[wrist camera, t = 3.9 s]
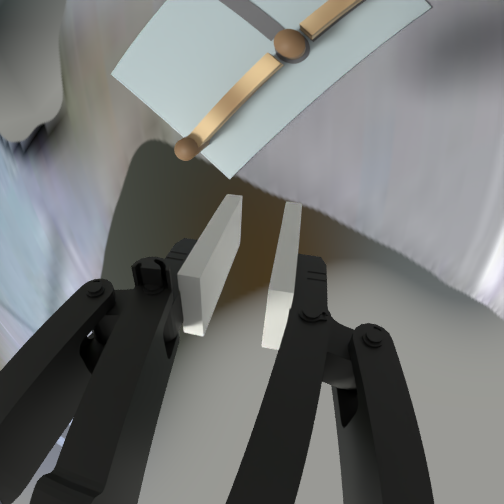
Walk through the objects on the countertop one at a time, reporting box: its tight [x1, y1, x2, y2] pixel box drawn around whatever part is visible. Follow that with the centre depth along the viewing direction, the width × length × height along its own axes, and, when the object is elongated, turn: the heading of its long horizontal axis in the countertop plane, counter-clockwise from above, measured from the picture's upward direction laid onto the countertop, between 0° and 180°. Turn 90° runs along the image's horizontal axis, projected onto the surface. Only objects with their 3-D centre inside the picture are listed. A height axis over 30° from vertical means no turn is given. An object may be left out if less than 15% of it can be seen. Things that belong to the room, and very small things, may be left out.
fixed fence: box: [274, 0, 362, 60], centre depth 18 cm, size 2×15×5 cm, turn 137°
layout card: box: [111, 0, 431, 179], centre depth 22 cm, size 18×28×1 cm, turn 136°
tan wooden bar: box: [175, 52, 283, 161], centre depth 25 cm, size 12×2×4 cm, turn 136°
